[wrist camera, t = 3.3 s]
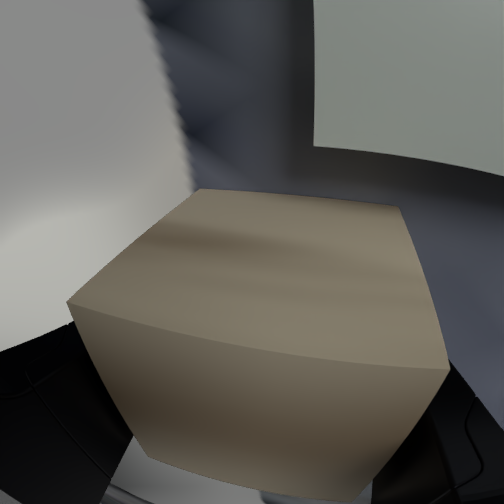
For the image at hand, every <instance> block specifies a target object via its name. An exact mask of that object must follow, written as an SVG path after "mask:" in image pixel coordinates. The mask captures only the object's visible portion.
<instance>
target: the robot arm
mask: <svg viewBox="0 0 504 504" xmlns="http://www.w3.org/2000/svg"><path fill="white" fill-rule="evenodd" d="M448 361H449V365H450V371H449V373H448V374H447V376H446V378H445V380H444V381H443V383H442V385H441V386H440V388H439V390H438V391H437V393H436V394H435V396H434V398H433V399H432V401H431V402H430V404H429V405H428V407H427V409H426V410H425V412H424V413H423V415H422V416H421V418H420V419H419V420H418V422H417V423H416V425H415V426H414V428H413V429H412V430H411V432H410V433H409V435H408V436H407V437H406V439H405V440H404V441H403V443H402V444H401V445H400V447H399V448H398V449H397V451H396V452H395V453H394V454H393V456H392V457H391V458H390V459H389V461H388V462H387V463H386V464H385V465H384V467H383V468H382V469H381V470H380V471H379V473H378V474H377V475H376V476H375V477H374V478H373V483H372V498H371V504H504V431H503V429H502V428H501V427H500V426H499V425H498V423H497V422H496V421H495V419H494V418H493V417H492V415H491V414H490V413H489V411H488V410H487V409H486V407H485V406H484V405H483V403H482V402H481V401H480V399H479V398H478V397H475V396H476V394H475V393H474V391H473V390H472V389H471V387H470V386H469V385H468V384H467V382H466V381H465V380H464V378H463V377H462V376H461V374H460V373H459V372H458V371H457V369H456V368H455V367H454V366H453V364H452V363H451V362H450V360H449V359H448ZM133 436H134V435H133V433H132V431H131V430H130V428H129V427H128V425H127V423H126V422H125V420H124V418H123V417H122V415H121V413H120V412H119V410H118V408H117V407H116V405H115V403H114V401H113V400H112V398H111V396H110V394H109V392H108V391H107V389H106V387H105V385H104V383H103V381H102V379H101V377H100V375H99V373H98V371H97V370H96V368H95V366H94V364H93V361H92V359H91V357H90V355H89V353H88V351H87V349H86V347H85V345H84V342H83V340H82V338H81V336H80V334H79V331H78V329H77V327H76V324H75V322H74V321H73V322H71V323H69V324H68V325H64V326H62V327H60V328H58V329H55V330H53V331H51V332H49V333H46V334H44V335H42V336H40V337H37V338H35V339H32V340H30V341H27V342H24V343H22V344H19V345H17V346H14V347H11V348H9V349H6V350H3V351H1V352H0V504H99V503H100V501H101V499H102V497H103V495H104V493H105V491H106V489H107V487H108V485H109V483H110V481H111V478H112V477H113V475H114V473H115V470H116V469H117V467H118V464H119V463H120V461H121V459H122V457H123V455H124V453H125V451H126V449H127V447H128V445H129V443H130V441H131V439H132V437H133Z"/></svg>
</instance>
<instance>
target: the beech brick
mask: <svg viewBox="0 0 504 504" xmlns="http://www.w3.org/2000/svg"><path fill="white" fill-rule="evenodd" d="M67 305H68V307H69V310H70V312H71V315H72V317H73V319H74V322H75V324H76V327H77V329H78V331H79V334H80V336H81V338H82V340H83V342H84V345H85V347H86V349H87V351H88V353H89V355H90V357H91V359H92V361H93V364H94V366H95V368H96V370H97V371H98V373H99V375H100V377H101V379H102V381H103V383H104V385H105V387H106V389H107V391H108V392H109V394H110V396H111V398H112V400H113V401H114V403H115V405H116V407H117V408H118V410H119V412H120V413H121V415H122V417H123V418H124V420H125V422H126V423H127V425H128V427H129V428H130V430H131V431H132V433H133V435H134V436H135V438H136V439H137V441H138V442H139V444H140V445H141V447H142V448H143V450H144V451H145V453H146V454H147V456H148V457H150V458H153V459H155V460H158V461H160V462H163V463H166V464H169V465H171V466H175V467H177V468H180V469H183V470H186V471H189V472H192V473H196V474H198V475H202V476H205V477H208V478H212V479H216V480H219V481H223V482H227V483H230V484H235V485H239V486H243V487H247V488H252V489H256V490H261V491H266V492H271V493H276V494H282V495H288V496H295V497H302V498H309V499H318V500H327V501H339V502H352V501H353V500H354V499H355V498H356V497H357V496H358V495H359V494H360V493H361V492H362V491H363V490H364V488H365V487H366V486H367V485H368V484H369V483H370V482H371V481H372V480H373V478H374V477H375V476H376V475H377V474H378V473H379V471H380V470H381V469H382V468H383V467H384V465H385V464H386V463H387V462H388V461H389V459H390V458H391V457H392V456H393V454H394V453H395V452H396V451H397V449H398V448H399V447H400V445H401V444H402V443H403V441H404V440H405V439H406V437H407V436H408V435H409V433H410V432H411V430H412V429H413V428H414V426H415V425H416V423H417V422H418V420H419V419H420V418H421V416H422V415H423V413H424V412H425V410H426V409H427V407H428V405H429V404H430V402H431V401H432V399H433V398H434V396H435V394H436V393H437V391H438V390H439V388H440V386H441V385H442V383H443V381H444V380H445V378H446V376H447V374H448V373H449V371H450V365H449V361H448V357H447V352H446V348H445V344H444V340H443V336H442V332H441V329H440V325H439V321H438V318H437V314H436V311H435V307H434V304H433V301H432V298H431V294H430V291H429V288H428V285H427V282H426V279H425V276H424V273H423V270H422V267H421V264H420V261H419V259H418V256H417V253H416V250H415V248H414V245H413V242H412V240H411V237H410V235H409V232H408V230H407V227H406V225H405V222H404V220H403V217H402V215H401V212H400V210H399V208H398V206H390V205H383V204H375V203H366V202H358V201H349V200H340V199H331V198H321V197H310V196H299V195H288V194H276V193H263V192H248V191H233V190H215V189H199V190H198V191H196V192H195V193H194V194H192V195H191V196H190V197H189V198H187V199H186V200H185V201H183V202H182V203H181V204H180V205H178V206H177V207H176V208H174V209H173V210H172V211H171V212H169V213H168V214H167V215H166V216H164V217H163V218H162V219H161V220H159V221H158V222H157V223H156V224H155V225H153V226H152V227H151V228H150V229H148V230H147V231H146V232H145V233H144V234H142V235H141V236H140V237H139V238H137V239H136V240H135V241H134V242H133V243H132V244H130V245H129V246H128V247H127V248H126V249H124V250H123V251H122V252H121V253H120V254H119V255H118V256H116V257H115V258H114V259H113V260H112V261H111V262H109V263H108V264H107V265H106V266H105V267H104V268H103V269H102V270H101V271H99V272H98V273H97V274H96V275H95V276H94V277H93V278H91V279H90V280H89V281H88V282H87V283H86V284H85V285H84V286H83V287H82V288H80V289H79V290H78V291H77V292H76V293H75V294H74V295H73V296H72V297H71V298H70V299H69V300H68V301H67Z"/></svg>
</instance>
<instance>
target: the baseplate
mask: <svg viewBox="0 0 504 504" xmlns="http://www.w3.org/2000/svg"><path fill="white" fill-rule="evenodd" d="M313 1H314V37H315V109H314V146H320V147H332V148H342V149H352V150H361V151H369V152H377V153H385V154H392V155H399V156H406V157H412V158H418V159H424V160H430V161H436V162H441V163H447V164H452V165H457V166H462V167H466V168H471V169H476V170H480V171H484V172H489V173H493V174H497V175H501V176H504V0H313Z"/></svg>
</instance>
